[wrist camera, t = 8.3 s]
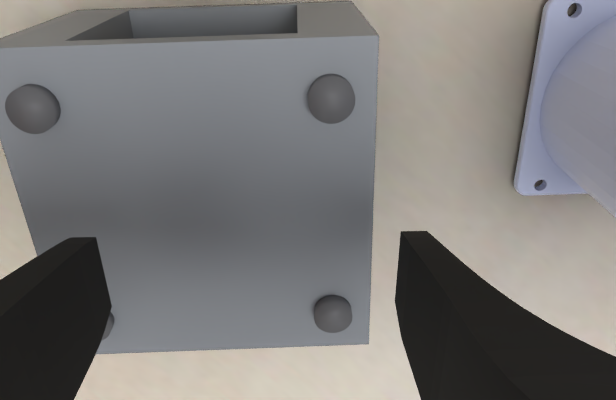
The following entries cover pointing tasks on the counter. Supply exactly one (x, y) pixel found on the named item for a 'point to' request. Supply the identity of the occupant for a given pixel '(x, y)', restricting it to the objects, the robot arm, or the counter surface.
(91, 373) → the counter surface
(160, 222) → the plate
